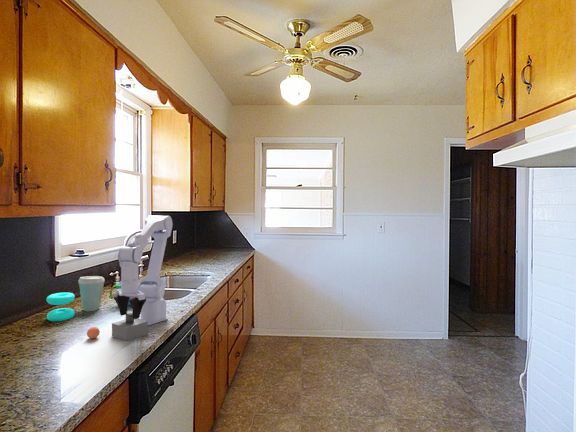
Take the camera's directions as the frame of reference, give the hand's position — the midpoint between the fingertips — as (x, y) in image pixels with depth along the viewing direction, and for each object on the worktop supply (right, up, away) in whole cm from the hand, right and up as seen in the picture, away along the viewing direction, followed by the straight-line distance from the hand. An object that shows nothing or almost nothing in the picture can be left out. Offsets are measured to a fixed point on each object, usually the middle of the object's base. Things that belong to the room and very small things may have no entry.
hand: (129, 316), depth 130 cm
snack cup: (-19, -6, +40) cm, 45 cm away
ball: (-12, -5, -3) cm, 13 cm away
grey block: (0, -7, 0) cm, 7 cm away
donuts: (-37, -6, +19) cm, 42 cm away
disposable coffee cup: (-31, -6, +32) cm, 45 cm away
